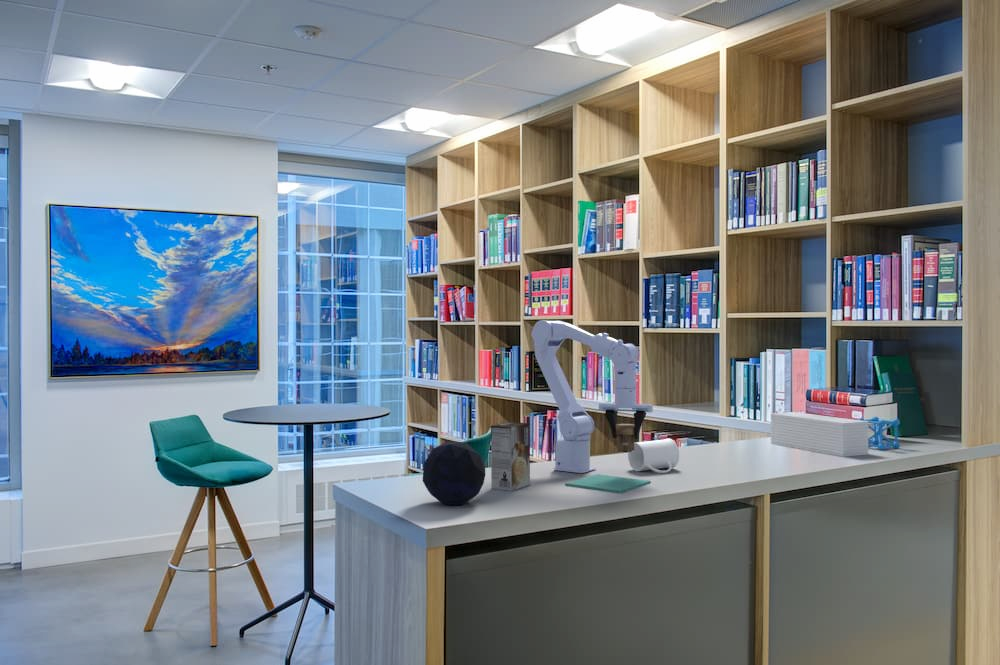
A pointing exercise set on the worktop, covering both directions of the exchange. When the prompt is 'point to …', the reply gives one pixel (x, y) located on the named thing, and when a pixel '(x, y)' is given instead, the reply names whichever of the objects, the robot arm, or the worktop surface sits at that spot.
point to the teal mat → (608, 483)
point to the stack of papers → (820, 433)
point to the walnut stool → (625, 430)
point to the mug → (654, 455)
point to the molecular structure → (879, 433)
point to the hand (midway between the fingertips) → (625, 438)
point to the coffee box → (510, 456)
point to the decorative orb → (454, 473)
